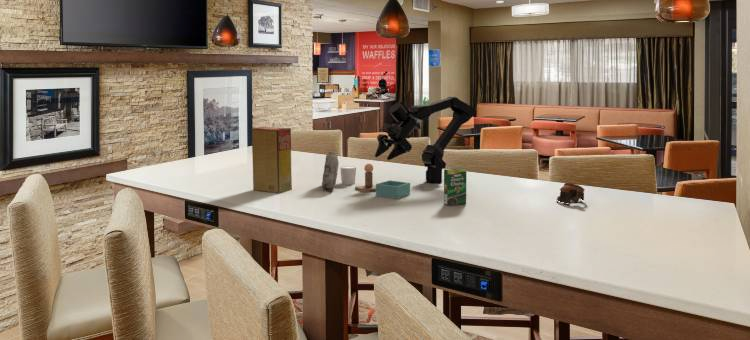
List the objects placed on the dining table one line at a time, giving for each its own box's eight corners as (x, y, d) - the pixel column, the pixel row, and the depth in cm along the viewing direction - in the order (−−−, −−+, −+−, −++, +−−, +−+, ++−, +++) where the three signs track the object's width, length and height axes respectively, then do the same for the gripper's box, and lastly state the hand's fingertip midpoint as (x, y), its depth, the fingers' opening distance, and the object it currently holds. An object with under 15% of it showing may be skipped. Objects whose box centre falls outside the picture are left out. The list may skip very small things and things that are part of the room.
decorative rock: (323, 184, 243) (323, 149, 240) (339, 184, 243) (339, 149, 240) (320, 192, 227) (319, 154, 224) (336, 192, 227) (336, 154, 224)
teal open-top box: (389, 191, 229) (389, 180, 229) (410, 194, 224) (410, 182, 223) (375, 195, 222) (375, 184, 221) (396, 198, 216) (397, 186, 215)
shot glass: (354, 185, 242) (354, 168, 241) (338, 184, 243) (338, 168, 242) (358, 182, 248) (357, 166, 247) (342, 181, 250) (342, 165, 249)
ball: (373, 172, 233) (373, 163, 232) (372, 173, 229) (372, 164, 228) (365, 171, 233) (365, 162, 233) (363, 173, 230) (363, 164, 229)
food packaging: (293, 189, 233) (291, 127, 228) (278, 193, 225) (277, 129, 220) (267, 186, 239) (265, 126, 235) (252, 190, 231) (249, 128, 226)
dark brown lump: (550, 202, 214) (557, 181, 215) (571, 212, 215) (578, 192, 217) (567, 200, 202) (575, 179, 204) (590, 211, 204) (597, 190, 205)
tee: (372, 187, 238) (372, 170, 237) (382, 190, 231) (382, 173, 230) (355, 189, 234) (355, 172, 232) (365, 192, 227) (365, 175, 226)
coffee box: (446, 206, 204) (447, 169, 202) (442, 204, 207) (443, 168, 205) (466, 204, 207) (467, 168, 205) (462, 202, 210) (463, 167, 208)
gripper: (380, 114, 241) (357, 142, 237) (406, 117, 226) (382, 147, 222) (396, 132, 247) (374, 160, 243) (422, 137, 231) (398, 166, 227)
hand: (381, 158), depth 233 cm, fingers open, 9 cm apart
